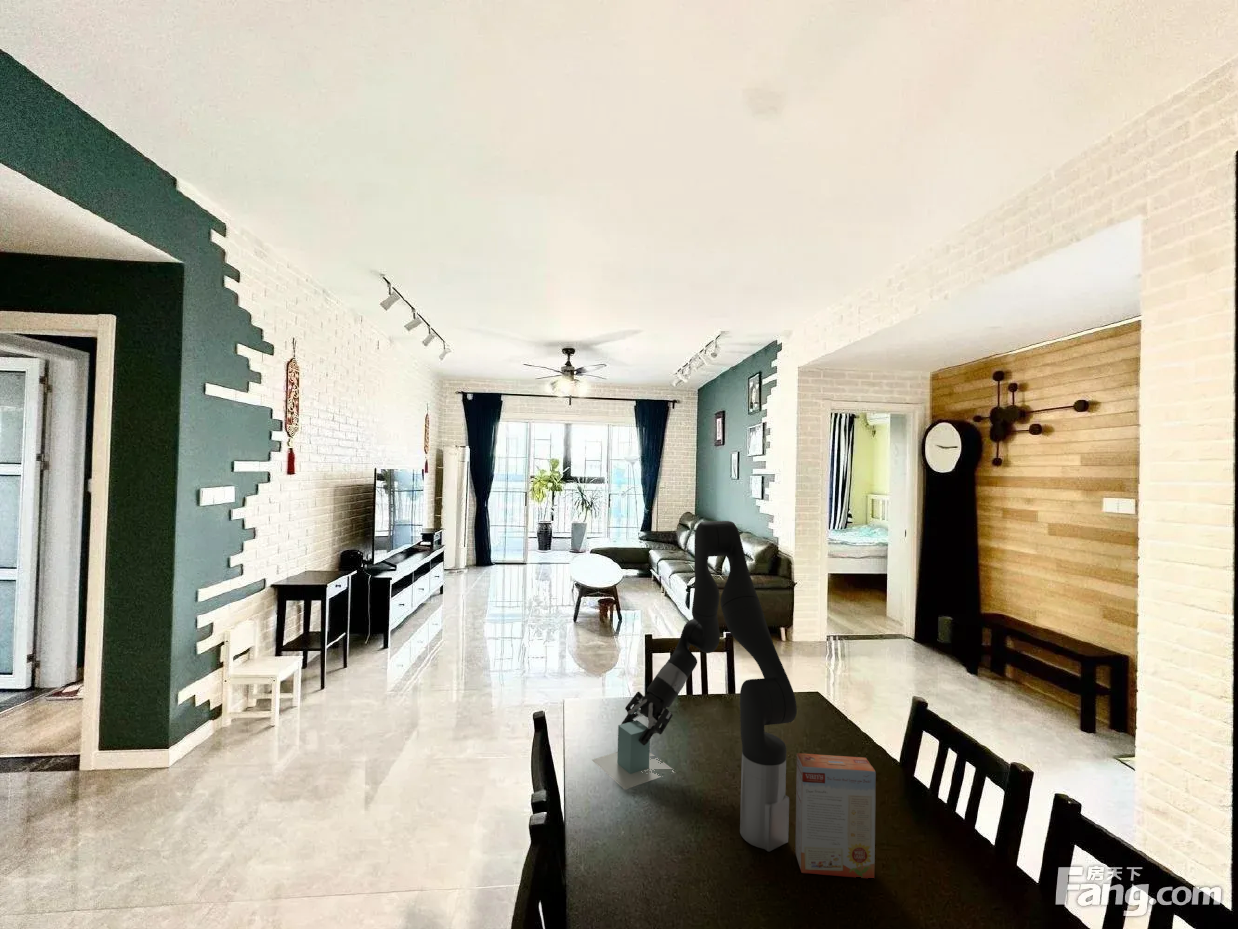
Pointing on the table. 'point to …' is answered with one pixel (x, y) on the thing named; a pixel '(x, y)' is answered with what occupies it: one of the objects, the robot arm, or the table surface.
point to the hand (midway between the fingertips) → (631, 736)
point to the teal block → (632, 747)
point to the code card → (625, 778)
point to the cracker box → (835, 815)
